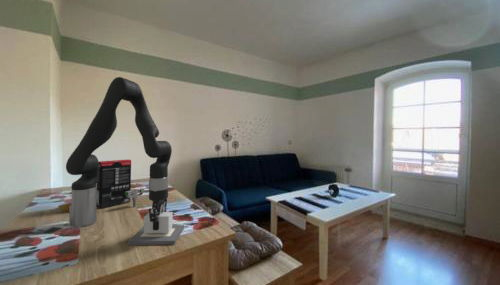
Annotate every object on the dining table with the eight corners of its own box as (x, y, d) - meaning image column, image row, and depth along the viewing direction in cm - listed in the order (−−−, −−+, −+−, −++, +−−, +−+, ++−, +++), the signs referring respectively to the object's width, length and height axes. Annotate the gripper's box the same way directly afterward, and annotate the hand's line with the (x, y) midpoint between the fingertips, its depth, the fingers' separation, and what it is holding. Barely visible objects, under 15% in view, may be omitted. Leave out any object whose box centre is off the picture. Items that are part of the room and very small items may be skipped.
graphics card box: (126, 199, 134) (126, 158, 133) (131, 202, 130) (131, 159, 129) (95, 207, 120) (95, 161, 119) (100, 209, 116) (99, 162, 115)
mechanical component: (144, 204, 125) (144, 188, 125) (126, 209, 116) (126, 192, 116) (141, 203, 127) (141, 188, 126) (124, 208, 118) (124, 191, 118)
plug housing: (144, 233, 84) (144, 216, 84) (149, 227, 89) (149, 212, 89) (168, 232, 85) (168, 216, 85) (172, 227, 90) (172, 212, 90)
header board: (128, 244, 80) (128, 240, 80) (144, 228, 94) (144, 225, 94) (174, 244, 81) (174, 240, 81) (184, 228, 95) (184, 225, 94)
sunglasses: (54, 214, 108) (55, 205, 108) (62, 209, 121) (62, 201, 121) (88, 209, 115) (88, 201, 116) (92, 205, 128) (92, 197, 129)
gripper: (156, 183, 93) (156, 220, 94) (141, 192, 79) (141, 235, 80) (173, 183, 94) (172, 219, 94) (161, 192, 79) (161, 235, 80)
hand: (158, 226), depth 87 cm, fingers closed on plug housing, 5 cm apart
